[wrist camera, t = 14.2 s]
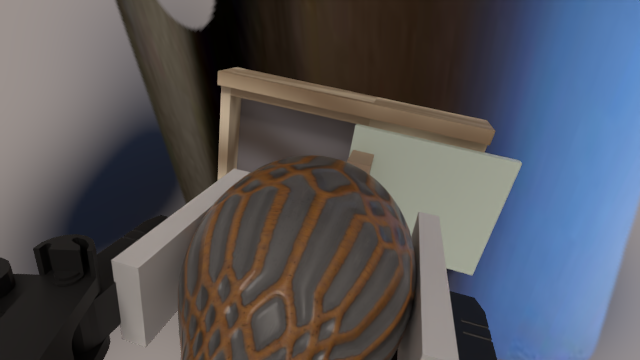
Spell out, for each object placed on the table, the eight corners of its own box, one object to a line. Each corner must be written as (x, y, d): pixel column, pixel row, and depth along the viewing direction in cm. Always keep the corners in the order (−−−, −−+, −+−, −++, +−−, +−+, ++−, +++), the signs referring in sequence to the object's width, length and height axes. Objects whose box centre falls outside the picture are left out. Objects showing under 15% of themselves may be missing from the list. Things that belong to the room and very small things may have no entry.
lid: (356, 123, 25) (349, 134, 23) (519, 160, 24) (533, 177, 21) (333, 232, 30) (325, 252, 27) (471, 270, 28) (477, 297, 25)
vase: (318, 305, 16) (231, 556, 9) (220, 193, 15) (16, 364, 7) (451, 239, 13) (504, 528, 6) (341, 95, 12) (216, 204, 5)
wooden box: (237, 67, 29) (218, 71, 26) (486, 120, 26) (495, 130, 23) (229, 203, 34) (212, 218, 32) (433, 260, 31) (435, 282, 28)
